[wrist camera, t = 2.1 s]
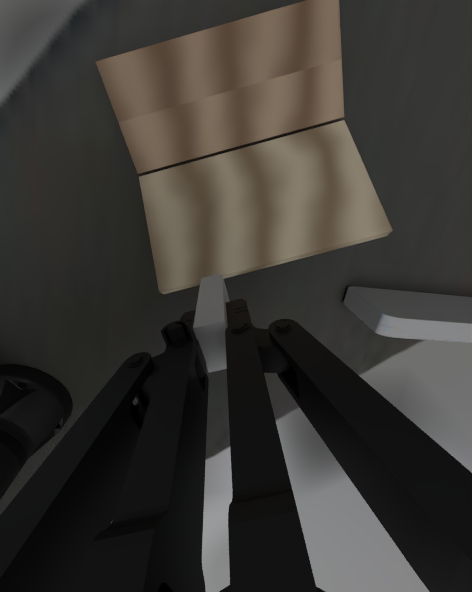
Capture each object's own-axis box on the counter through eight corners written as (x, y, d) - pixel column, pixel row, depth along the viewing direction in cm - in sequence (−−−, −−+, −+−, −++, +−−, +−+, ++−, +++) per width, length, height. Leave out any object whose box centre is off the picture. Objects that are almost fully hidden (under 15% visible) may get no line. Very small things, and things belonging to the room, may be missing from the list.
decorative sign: (338, 306, 39) (376, 343, 30) (345, 284, 37) (388, 316, 28) (509, 321, 43) (588, 357, 34) (522, 301, 41) (608, 334, 32)
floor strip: (140, 174, 29) (137, 174, 28) (100, 67, 25) (95, 61, 24) (339, 119, 28) (344, 116, 27) (332, 0, 24) (338, -9, 23)
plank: (163, 294, 26) (159, 291, 25) (143, 183, 29) (138, 176, 28) (386, 236, 25) (392, 230, 24) (340, 129, 28) (344, 120, 27)
